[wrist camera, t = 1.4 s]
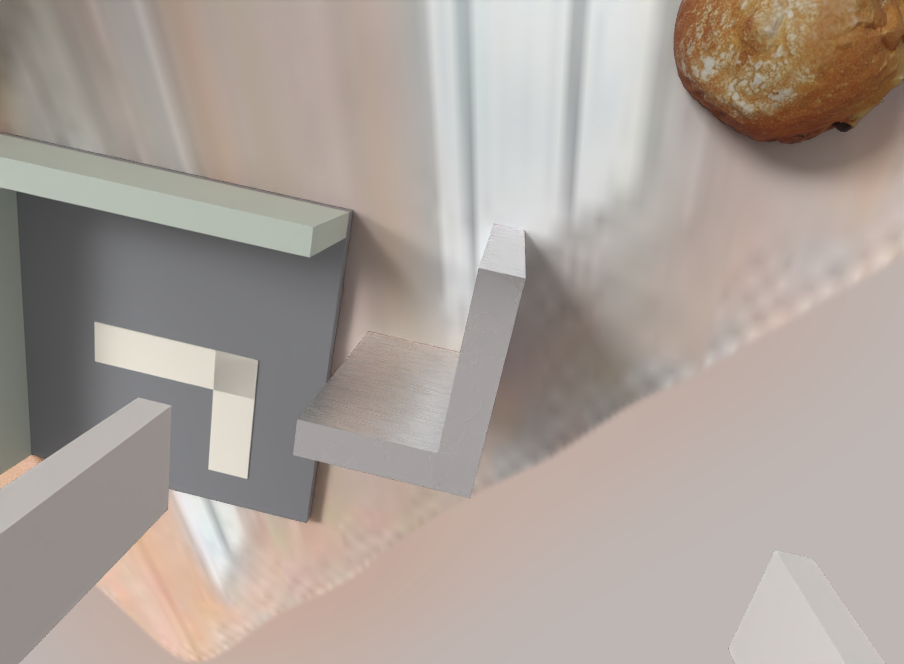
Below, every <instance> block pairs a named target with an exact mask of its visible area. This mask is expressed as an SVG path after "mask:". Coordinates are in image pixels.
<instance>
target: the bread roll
mask: <svg viewBox="0 0 904 664" xmlns="http://www.w3.org/2000/svg"><path fill="white" fill-rule="evenodd" d="M674 56H675V61H676V66H677V71H678V75H679V77H680V79H681V81H682V84H683V86H684V87H685V88H686V89H687V91H688V92H689V93H690V94H691V95H692V96H693V98H694V99H697V100H699V102H700V103H701V104H702V106H705V107H707V108H709V110H710V111H711V112H712V113H713V115H714V116H715V117H717V118H718V119H719V120H721V121H723V122H724V123H725V124H726V125H729V126H732V127H733V128H734V129H735V130H736V131H737V132H740V133H742V134H745V135H747V136H748V137H750V138H752V139H753V140H756V141H760V142H770V141H779V142H780V143H786V144H793V143H799V142H801V141H804V140H808V139H811V138H814V137H816V136H817V135H819V134H821V133H822V132H825V131H827V130H830V129H833V128H835V127H836V128H837V129H838V130H839V131H841V132H846V131H848V130H850V129H852V128H853V127H854V126H855V125H856V124H857V122H858V121H859V120H860V119H862V118H863V117H864V116H865V115H866V114H867V113H868V112H869V111H870V110H871V109H872V108H874V107H875V106H877V105H879V104H880V103H882V102H883V97H884V96H885V95H887V94H888V93H889V92H890V91H891V90H892V89H893V88H895V87H896V86H898V85H900V83H901V82H902V80H903V79H904V0H682V3H681V5H680V8H679V11H678V15H677V19H676V24H675V31H674Z"/></svg>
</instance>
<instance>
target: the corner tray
mask: <svg viewBox="0 0 904 664" xmlns="http://www.w3.org/2000/svg"><path fill="white" fill-rule="evenodd" d="M352 216H353V210H349V209H345V208H340V207H336V206H331V205H327V204H322V203H318V202H313V201H309V200H305V199H300V198H296V197H291V196H287V195H282V194H278V193H273V192H269V191H264V190H260V189H255V188H251V187H246V186H242V185H237V184H233V183H228V182H224V181H219V180H215V179H210V178H206V177H201V176H197V175H192V174H188V173H183V172H179V171H174V170H170V169H165V168H161V167H156V166H152V165H147V164H143V163H138V162H134V161H129V160H125V159H120V158H116V157H111V156H107V155H102V154H98V153H93V152H89V151H84V150H80V149H75V148H71V147H66V146H62V145H57V144H53V143H48V142H44V141H39V140H35V139H30V138H26V137H21V136H17V135H12V134H8V133H3V132H0V475H1V474H2V473H4V472H5V471H7V470H8V469H10V468H11V467H13V466H15V465H16V464H18V463H19V462H21V461H22V460H24V459H25V458H27V457H29V456H30V455H35V456H39V457H43V458H48V457H49V456H51V455H52V454H54V453H55V452H57V451H58V450H60V449H61V448H63V447H64V446H66V445H67V444H69V443H70V442H72V441H73V440H75V439H76V438H78V437H79V436H81V435H82V434H84V433H85V432H87V431H88V430H90V429H91V428H93V427H94V426H96V425H97V424H99V423H100V422H102V421H103V420H105V419H106V418H108V417H109V416H111V415H112V414H114V413H115V412H117V411H118V410H120V409H121V408H123V407H124V406H126V405H127V404H129V403H130V402H132V401H133V400H135V399H137V398H143V399H147V400H151V401H155V402H159V403H164V404H168V405H171V434H170V464H169V489H171V490H175V491H179V492H183V493H187V494H192V495H196V496H200V497H204V498H208V499H212V500H216V501H220V502H224V503H228V504H232V505H236V506H240V507H244V508H248V509H252V510H256V511H260V512H264V513H268V514H272V515H276V516H280V517H284V518H288V519H292V520H296V521H300V522H304V523H307V521H308V519H309V517H310V515H311V508H312V501H313V494H314V486H315V479H316V472H317V465H318V461H315V460H311V459H307V458H303V457H299V456H295V455H293V450H294V442H295V434H296V425H297V419H298V418H299V417H300V415H301V414H302V413H303V412H304V410H305V409H306V408H307V407H308V405H309V404H310V403H311V402H312V400H313V399H314V398H315V397H316V395H317V394H318V393H319V392H320V390H321V389H322V388H323V387H324V386H325V384H326V383H327V382H328V381H329V379H330V372H331V365H332V358H333V351H334V344H335V337H336V330H337V323H338V316H339V308H340V301H341V294H342V287H343V280H344V273H345V266H346V259H347V251H348V244H349V237H350V230H351V223H352Z"/></svg>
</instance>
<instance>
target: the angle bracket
mask: <svg viewBox="0 0 904 664" xmlns="http://www.w3.org/2000/svg"><path fill="white" fill-rule="evenodd" d="M525 279H526V271H525V231H524V230H520V229H515V228H511V227H506V226H502V225H497V224H494V225H493V228H492V230H491V233H490V236H489V239H488V242H487V245H486V248H485V251H484V254H483V257H482V260H481V263H480V266H479V269H478V274H477V278H476V283H475V287H474V292H473V296H472V301H471V305H470V310H469V314H468V319H467V324H466V328H465V333H464V337H463V342H462V346H461V351H460V352H456V351H452V350H447V349H443V348H439V347H434V346H430V345H426V344H421V343H417V342H413V341H408V340H404V339H400V338H396V337H391V336H387V335H383V334H378V333H374V332H370V331H368V332H367V333H366V335H365V336H364V337H363V338H362V340H361V341H360V342H359V343H358V344H357V346H356V347H355V348H354V349H353V351H352V352H351V353H350V354H349V356H348V357H347V358H346V359H345V361H344V362H343V363H342V364H341V366H340V367H339V368H338V369H337V371H336V372H335V373H334V374H333V376H332V377H331V378H330V379H329V381H328V382H327V383H326V384H325V386H324V387H323V388H322V389H321V390H320V392H319V393H318V394H317V395H316V397H315V398H314V399H313V400H312V402H311V403H310V404H309V405H308V407H307V408H306V409H305V410H304V412H303V413H302V414H301V415H300V417H299V418H298V419H297V425H296V434H295V442H294V450H293V455H295V456H299V457H303V458H307V459H311V460H315V461H319V462H324V463H328V464H332V465H336V466H340V467H344V468H348V469H352V470H356V471H361V472H365V473H369V474H373V475H377V476H381V477H385V478H389V479H393V480H398V481H402V482H406V483H410V484H414V485H418V486H422V487H426V488H430V489H435V490H439V491H443V492H447V493H451V494H455V495H459V496H463V497H467V498H470V497H471V493H472V489H473V485H474V481H475V477H476V473H477V469H478V465H479V462H480V458H481V454H482V450H483V446H484V442H485V438H486V434H487V430H488V426H489V422H490V418H491V414H492V410H493V406H494V402H495V398H496V394H497V390H498V386H499V382H500V378H501V374H502V370H503V366H504V362H505V358H506V354H507V350H508V347H509V343H510V339H511V335H512V331H513V327H514V323H515V319H516V315H517V311H518V307H519V303H520V299H521V295H522V291H523V287H524V283H525Z"/></svg>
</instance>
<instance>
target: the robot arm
mask: <svg viewBox="0 0 904 664" xmlns="http://www.w3.org/2000/svg"><path fill="white" fill-rule="evenodd" d="M170 434H171V405H168V404H164V403H159V402H155V401H151V400H147V399H143V398H137V399H135V400H133V401H132V402H130V403H129V404H127V405H126V406H124V407H123V408H121V409H120V410H118V411H117V412H115V413H114V414H112V415H111V416H109V417H108V418H106V419H105V420H103V421H102V422H100V423H99V424H97V425H96V426H94V427H93V428H91V429H90V430H88V431H87V432H85V433H84V434H82V435H81V436H79V437H78V438H76V439H75V440H73V441H72V442H70V443H69V444H67V445H66V446H64V447H63V448H61V449H60V450H58V451H57V452H55V453H54V454H52V455H51V456H49V457H48V458H46V459H45V460H43V461H42V462H40V463H39V464H37V465H36V466H34V467H33V468H31V469H30V470H28V471H27V472H25V473H24V474H22V475H21V476H19V477H18V478H16V479H15V480H13V481H12V482H10V483H9V484H7V485H6V486H4V487H3V488H1V489H0V664H19V663H20V662H21V661H22V660H23V659H24V658H25V657H26V656H27V655H28V653H29V652H31V651H32V650H33V649H34V647H35V646H36V645H37V644H38V643H39V642H40V641H41V640H42V639H43V638H44V637H45V636H46V635H47V634H48V633H49V632H50V631H51V630H52V629H53V628H54V627H55V626H56V625H57V624H58V623H59V622H60V621H61V620H62V618H63V617H64V616H65V615H66V614H67V613H68V612H69V611H70V610H71V609H72V608H73V607H74V606H75V605H76V604H77V603H78V602H79V601H80V600H81V599H82V598H83V597H84V596H85V594H87V593H88V591H89V590H90V589H91V588H92V587H93V586H94V585H95V584H96V583H97V582H98V581H99V580H100V579H101V578H102V577H103V576H104V575H105V574H106V573H107V572H108V571H109V570H110V569H111V568H112V567H113V566H114V565H115V564H116V563H117V562H118V560H119V559H120V558H121V557H122V556H123V555H124V554H125V553H126V552H127V551H128V550H129V549H130V548H131V547H132V546H133V545H134V544H135V543H136V542H137V541H138V540H139V539H140V538H141V537H142V536H143V535H144V534H145V533H146V531H147V530H148V529H149V528H150V527H151V526H152V525H153V524H154V523H155V522H156V521H157V520H158V519H159V518H160V517H161V516H162V515H163V514H164V513H165V512H166V511H167V510H168V494H169V464H170ZM728 649H729V652H730V654H731V657H732V658H733V661H734V664H885V663H884V661H883V660H882V659H881V657H880V655H879V654H878V652H877V651H876V649H875V648H874V647H873V645H872V644H871V642H870V641H869V639H868V638H867V636H866V635H865V634H864V632H863V631H862V629H861V628H860V627H859V625H858V624H857V622H856V621H855V619H854V618H853V616H852V615H851V613H850V612H849V610H848V609H847V608H846V606H845V605H844V604H843V602H842V600H841V599H840V597H839V596H838V595H837V593H836V592H835V590H834V589H833V587H832V586H831V584H830V583H829V582H828V580H827V579H826V577H825V576H824V574H823V573H822V572H821V570H820V569H819V567H818V566H817V565H816V563H815V561H814V560H813V559H812V558H808V557H804V556H800V555H795V554H791V553H787V552H783V551H778V550H775V552H774V554H773V556H772V558H771V560H770V562H769V564H768V566H767V568H766V571H765V573H764V575H763V577H762V579H761V581H760V583H759V585H758V587H757V589H756V591H755V593H754V595H753V597H752V600H751V602H750V604H749V606H748V608H747V611H746V612H745V614H744V617H743V618H742V620H741V623H740V625H739V627H738V629H737V631H736V633H735V635H734V637H733V639H732V641H731V643H730V645H729V648H728Z"/></svg>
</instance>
